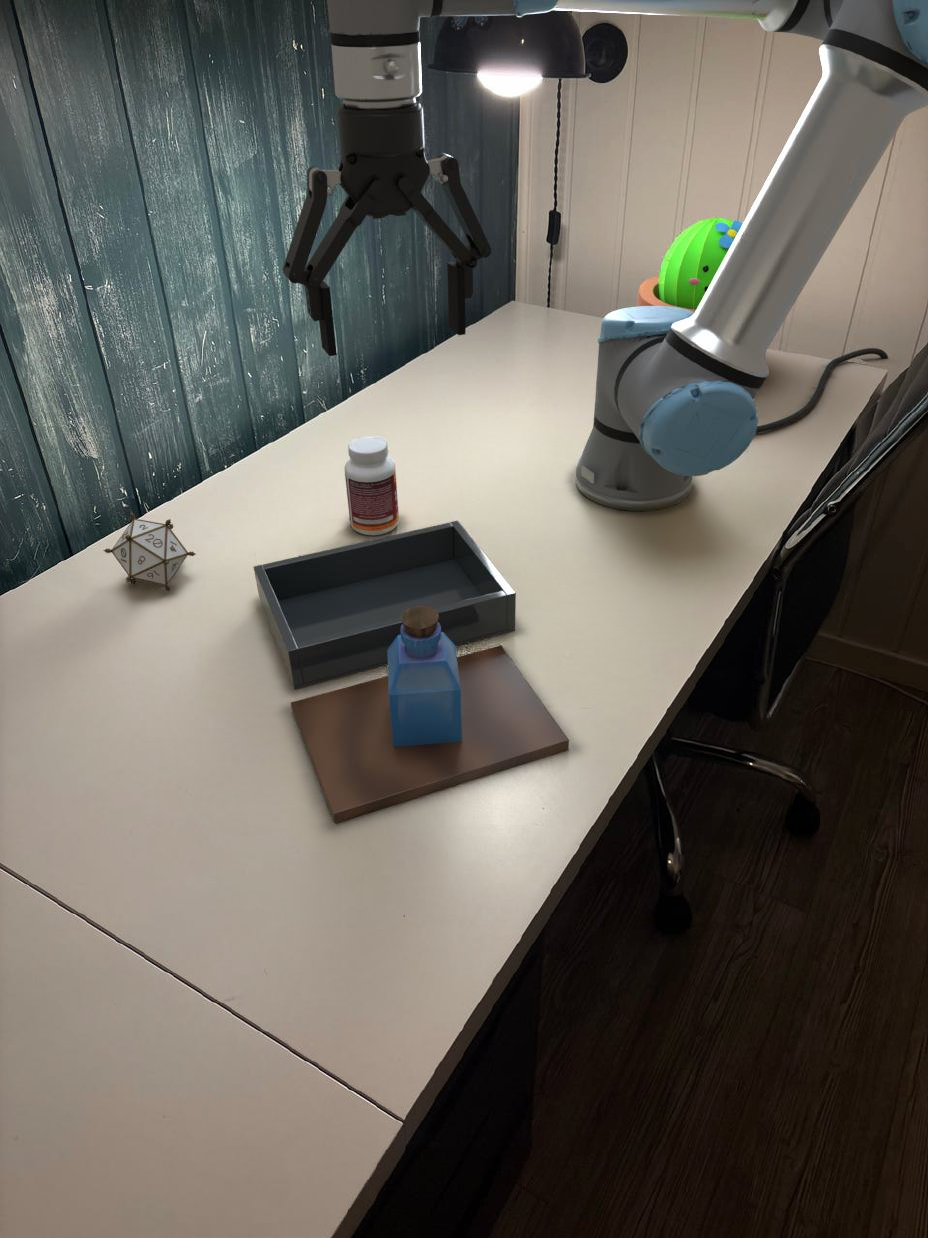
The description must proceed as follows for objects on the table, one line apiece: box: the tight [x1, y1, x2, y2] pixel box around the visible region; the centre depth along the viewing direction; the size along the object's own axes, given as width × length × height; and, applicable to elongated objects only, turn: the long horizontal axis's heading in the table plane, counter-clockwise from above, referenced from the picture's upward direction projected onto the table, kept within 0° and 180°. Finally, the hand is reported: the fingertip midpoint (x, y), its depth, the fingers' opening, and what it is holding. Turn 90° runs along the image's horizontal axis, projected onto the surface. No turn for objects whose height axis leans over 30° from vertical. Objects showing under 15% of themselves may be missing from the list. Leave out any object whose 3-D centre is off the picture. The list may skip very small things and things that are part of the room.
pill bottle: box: [344, 435, 400, 536], centre depth 112 cm, size 6×6×11 cm
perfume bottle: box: [387, 606, 462, 747], centre depth 81 cm, size 6×6×12 cm
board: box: [290, 644, 570, 824], centre depth 85 cm, size 22×15×1 cm
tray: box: [253, 520, 517, 690], centre depth 99 cm, size 24×16×5 cm, turn 112°
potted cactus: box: [636, 215, 744, 313], centre depth 145 cm, size 22×22×25 cm
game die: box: [102, 511, 197, 593], centre depth 104 cm, size 9×8×10 cm
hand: (394, 341), depth 92 cm, fingers open, 13 cm apart
